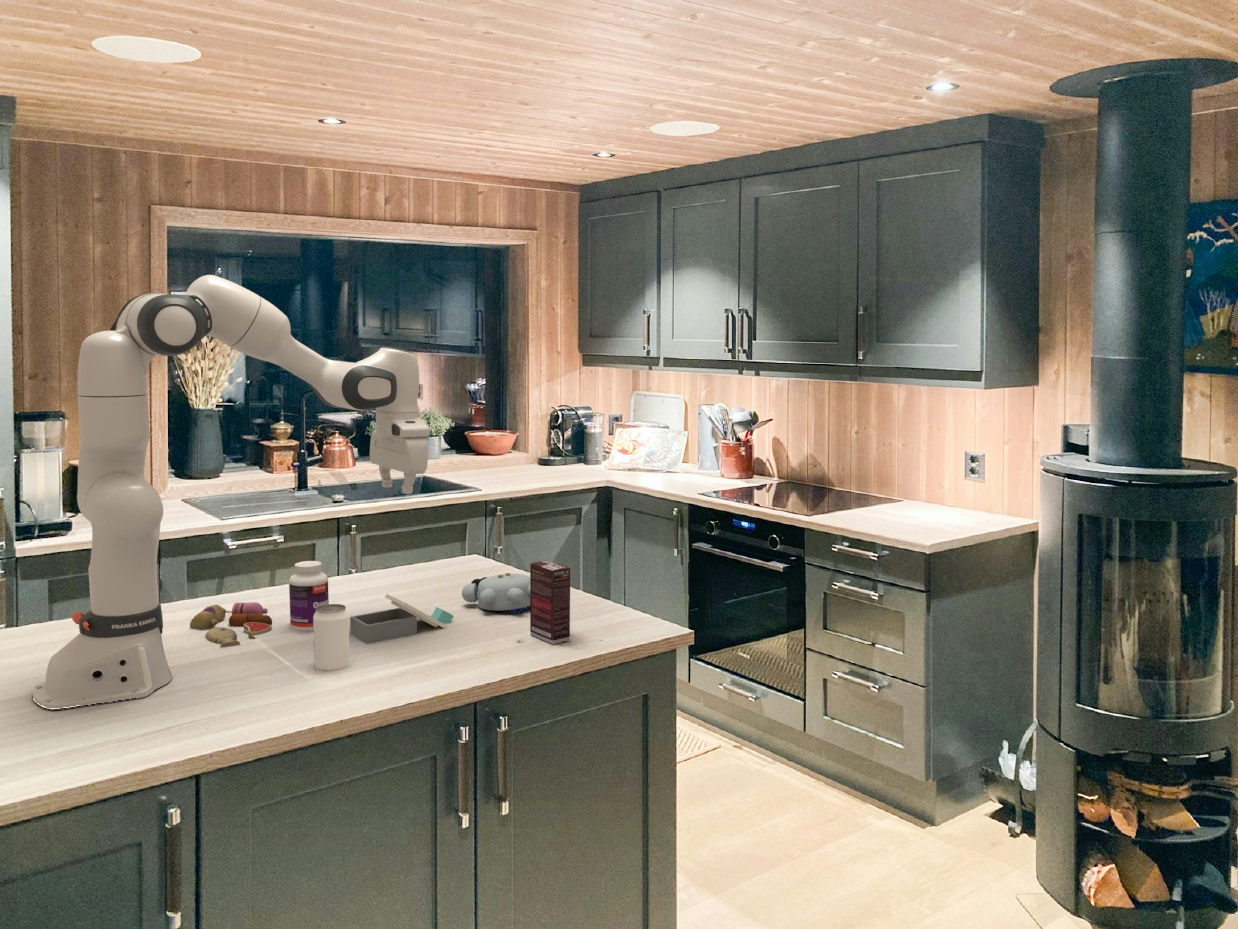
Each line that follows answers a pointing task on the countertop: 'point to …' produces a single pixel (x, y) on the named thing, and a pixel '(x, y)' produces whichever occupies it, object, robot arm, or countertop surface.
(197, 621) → the toy food set
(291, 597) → the pill bottle
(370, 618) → the tub
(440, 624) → the lid
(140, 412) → the robot arm
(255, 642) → the countertop surface
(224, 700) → the countertop surface
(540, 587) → the supplement box
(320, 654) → the can
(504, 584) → the figurine
